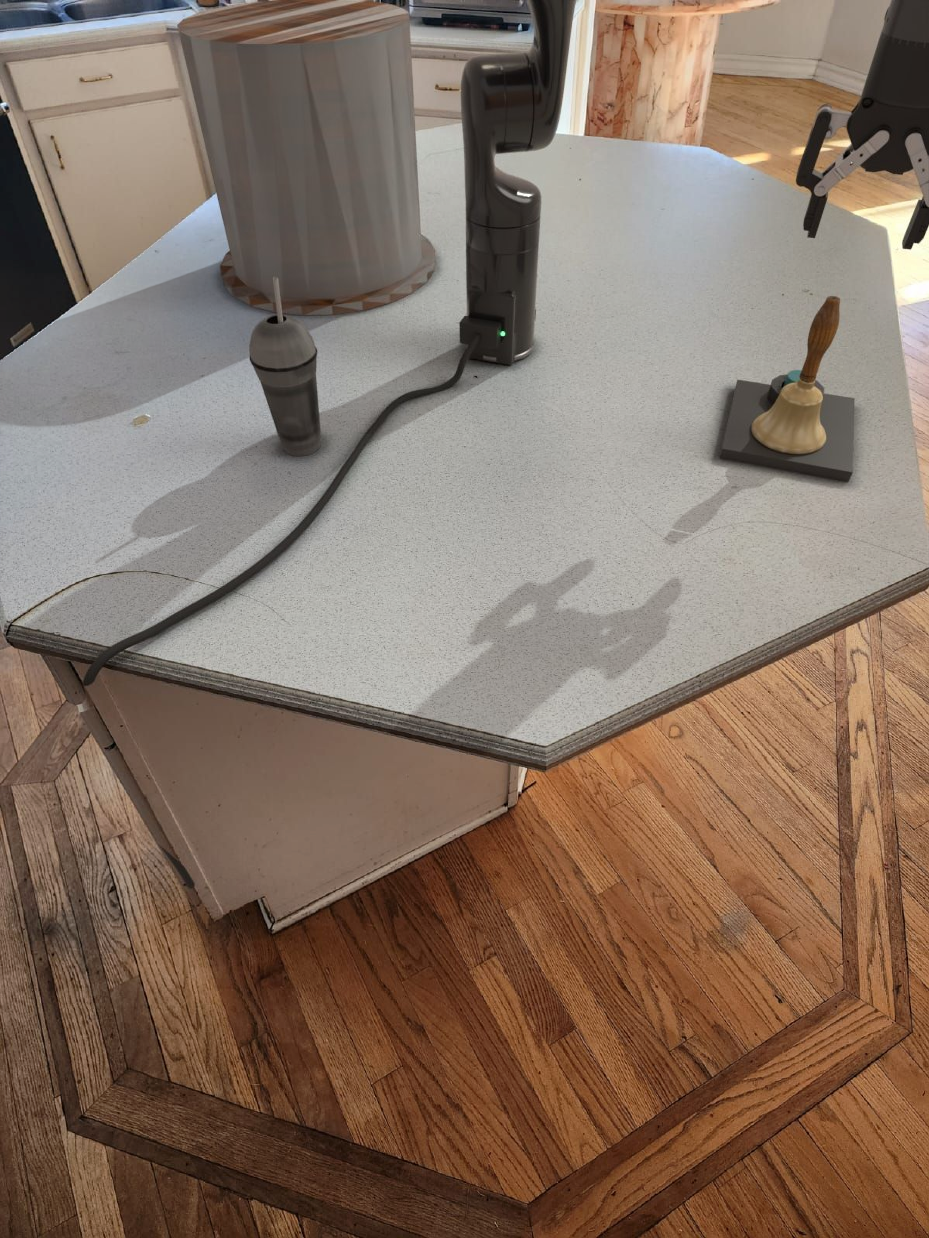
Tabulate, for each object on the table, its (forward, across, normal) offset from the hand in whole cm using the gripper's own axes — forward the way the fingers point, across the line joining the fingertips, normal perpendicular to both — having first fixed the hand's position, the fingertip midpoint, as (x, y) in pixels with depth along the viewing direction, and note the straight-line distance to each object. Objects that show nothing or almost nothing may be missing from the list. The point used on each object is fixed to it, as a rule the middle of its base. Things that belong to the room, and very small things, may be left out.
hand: (858, 240), depth 72 cm
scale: (+23, 0, +2) cm, 23 cm away
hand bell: (+22, 0, 0) cm, 22 cm away
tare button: (+20, 0, +8) cm, 22 cm away
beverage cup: (+23, -54, -19) cm, 62 cm away
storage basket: (+23, -74, +29) cm, 83 cm away
